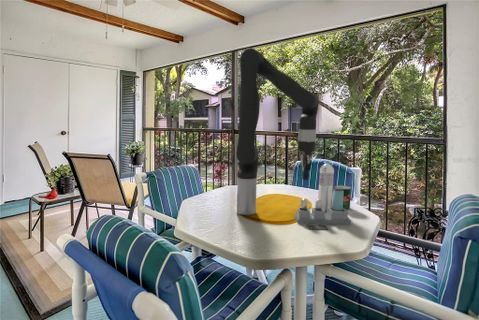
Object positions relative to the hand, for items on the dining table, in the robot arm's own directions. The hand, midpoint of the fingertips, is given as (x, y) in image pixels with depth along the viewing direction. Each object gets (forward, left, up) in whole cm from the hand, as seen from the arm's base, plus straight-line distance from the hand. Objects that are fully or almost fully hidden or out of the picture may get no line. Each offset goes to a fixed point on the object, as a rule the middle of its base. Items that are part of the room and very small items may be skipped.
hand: (305, 179), depth 131 cm
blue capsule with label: (+15, +1, -17) cm, 23 cm away
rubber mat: (+4, -7, -19) cm, 21 cm away
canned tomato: (+23, +22, -19) cm, 37 cm away
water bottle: (+13, +17, -19) cm, 29 cm away
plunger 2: (+7, 0, -14) cm, 15 cm away
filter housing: (+8, +1, -19) cm, 21 cm away
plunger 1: (0, 0, -14) cm, 14 cm away
